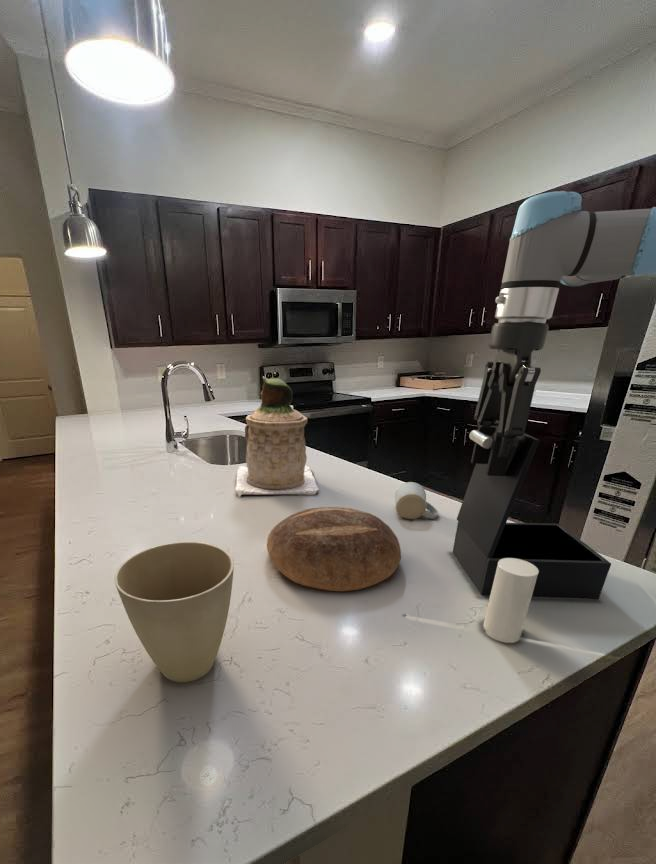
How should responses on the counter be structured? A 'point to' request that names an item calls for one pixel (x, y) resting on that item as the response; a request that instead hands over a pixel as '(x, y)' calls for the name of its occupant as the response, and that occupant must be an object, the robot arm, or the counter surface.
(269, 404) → the cookie jar
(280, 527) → the bread
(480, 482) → the bin lid
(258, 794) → the counter surface
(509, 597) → the canister
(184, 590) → the plant pot
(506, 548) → the bin
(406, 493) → the ceramic mug
